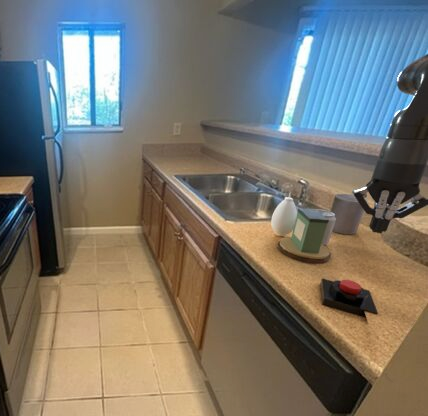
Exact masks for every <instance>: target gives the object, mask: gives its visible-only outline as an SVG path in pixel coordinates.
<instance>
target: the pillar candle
mask: <svg viewBox="0 0 428 416" xmlns="http://www.w3.org/2000/svg"><path fill="white" fill-rule="evenodd" d="M364 199H365V201H366V202H367V203H368V201H369V199H367V198H364ZM329 211H330V212H332V213H334V214H335V216H334V217H335V218H336V221H335V224H334V227H333V231H332V233H336V234H340V235H350V236H352V235H355V234H356V233H357V232H358V230H359V226H360V223H361V221H362V218H363V215H364V212H365V211H364V209H363V208H362V206H361V205H360V203H359V202H358V201H357V199H356V198H355V196H354V195H353V193H352V194H351V193H350V194H349V193H348V194H347V193H338V194H335V195H334V198H333V202H332V205H331V208H330V210H329Z"/></svg>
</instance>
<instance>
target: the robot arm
mask: <svg viewBox="0 0 428 416" xmlns="http://www.w3.org/2000/svg"><path fill="white" fill-rule="evenodd" d="M396 86H397V88H398V90H399V91H400V92H401V93H403V94H406V95H408V96H409V95H410V96H413V97H412V99H411V101H410V102H409V104H408V106H407V107H405V108H402V109H399V110H398V111H397V112H395V114H394V116H393V117H392V120H391V123H390V124H389V125H390V126H389V128H388V132H387V135H386V138H385V140H384V142H383V143H382V146H381V149H380V151H379V154H378V157H377V160H376V163H375V167H374V170H373V172H372V176H371V178H370V180H369V181H368V182H367V184H366V185H365V186H364V187H362V188H360V189H353V190H352V192H351V193H352V195H354V196H355V198H356V199H357V201H358V202H359V203H360V205H361V206H362V208H363V209H364V212H365V214H366V215H371V219H370V222H369V225H368V226H369V229H370V231H372V233H375V234H383V233H385V232H386V231H387V230H388V229H389V226H390V223H391V220H392V219H404V218H406V217H408V216H409V215H411V214H414V213H415V212H417V211H419V210H421V209H423V208H425V207H426V206H428V197H426V196H424V195H422V194H421V193H420V192H421V189H420V185H421V181H422V179H423V176H424V174H425V172H426V169H427V166H428V53H426V54H425V55H423V56H420V57H419V58H417V59H416V60H413V61H412V62H411V63H409V64H408V65H407V66H406V67H405V68H404V69H402V70H401V72H400V73H399V75H398V77H397V80H396ZM368 194H369V196H370V197H371V198H372V200H373V201H374V202H373V207H371V206H370V204H369V203H368V201H367V202H366V201H365V199H367V197H368ZM364 198H365V199H364ZM409 200H410V202H408V201H409ZM406 202H408V203H406ZM405 203H406V204H405ZM404 204H405V205H404ZM401 205H403V206H401ZM399 207H400V208H399Z"/></svg>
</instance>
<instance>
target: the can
mask: <svg viewBox="0 0 428 416" xmlns="http://www.w3.org/2000/svg"><path fill="white" fill-rule="evenodd" d="M316 210H317V211H318V212H319V213H321V214H322V215H323V216H325V217H326V218H327V219H328V220H329V222H328V224H327V227H326V230H325V233H324V237H323V240H322V243H321V244H322V245H324V246H326V245H329V243H330V239H331V236H332V234H333V227H334V224H335V221H336V218H335V217H334V216H335V214H334V213H332V212H330V211H331V210H326V209H316Z"/></svg>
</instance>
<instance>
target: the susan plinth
mask: <svg viewBox="0 0 428 416" xmlns="http://www.w3.org/2000/svg"><path fill="white" fill-rule="evenodd" d="M276 249H277V251H278V252H279V253H281V254H282V255H283V256H285V257H287V258H288V259H292V260H294V261H297V262H300V263H304V264H312V265H323V264H327V263H328V262H330V259H331V257H332V254H331V253H330V254H329V256H328V257H326V258H323V259H311V258H305V257H301V256H298V255H295V254H292V253H290V252H288V251H286V250H284V249H283V248H282V247H281V246H280V240H279V241H277V244H276Z"/></svg>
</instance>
